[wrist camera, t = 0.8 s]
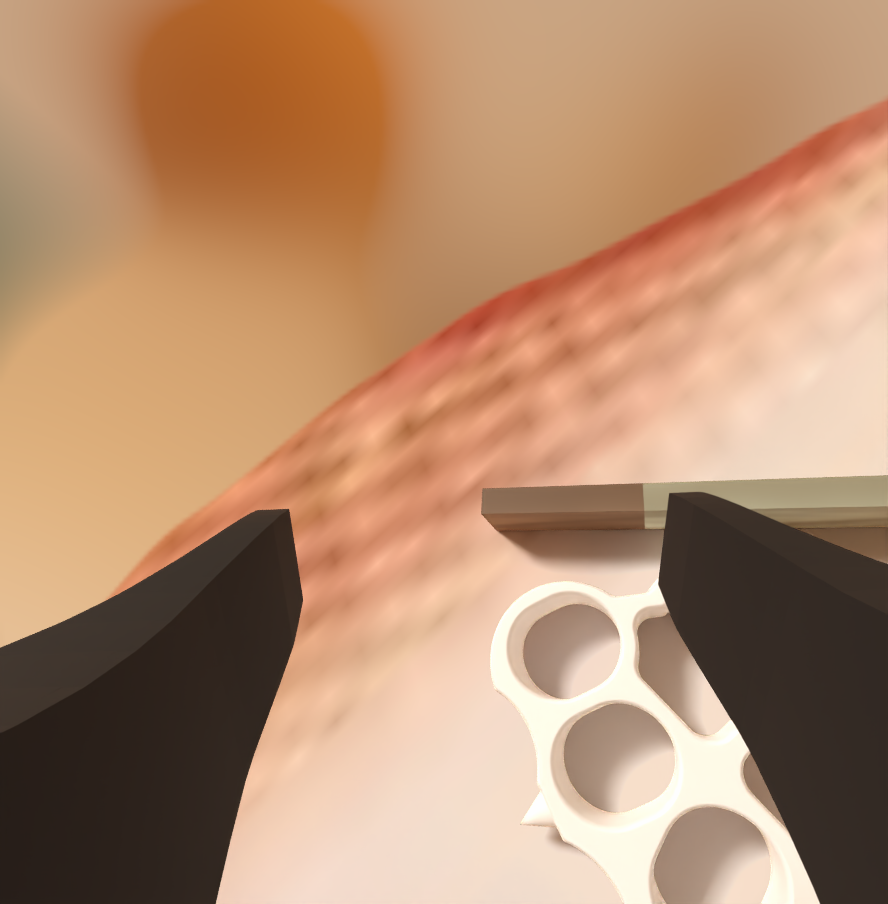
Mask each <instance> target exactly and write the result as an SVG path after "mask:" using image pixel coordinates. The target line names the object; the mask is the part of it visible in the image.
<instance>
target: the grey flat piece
mask: <svg viewBox="0 0 888 904" xmlns="http://www.w3.org/2000/svg"><path fill="white" fill-rule="evenodd" d="M680 492H705V493H708V494H712V495H715V496H718V497H720V498H723V499H726V500H728V501H731V502H733V503H736V504H738V505H741V506H743V507H746V508H748V509H750V510H753V511H755V512H757V513H760V514H762V515H764V516H767V517H769V518H771V519H774V520H776V521H778V522H781V523H783V524H785V525H788V526H790V527H792V528H852V527H888V475H884V476H853V477H823V478H792V479H762V480H731V481H701V482H670V483H640V484H609V485H579V486H548V487H518V488H487V489H482V509H481V514H482V515H483V516H484V517H485V518H486V519H487V521H488V522H489V523H490V524H491V525H492V526H493V527H494V528H495V529H496V530H497V531H502V530H619V529H665V522H666V514H667V506H668V498H669V493H680Z"/></svg>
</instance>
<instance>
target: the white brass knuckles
mask: <svg viewBox="0 0 888 904" xmlns="http://www.w3.org/2000/svg"><path fill="white" fill-rule="evenodd" d="M658 580H659V578H658V579H657V580H656V581H655V583H654V584H653V585H652V586H651V587H650V589H649V590H648V592H647V593H643V594H635V595H627V596H619V597H616V596H613V595H611V594H609V593H607V592H605V591H604V590H602V589H599V588H597V587H594V586H592V585H588V584H585V583H580V582H571V581H561V582H553V583H548V584H544V585H541V586H539V587H536V588H534V589H532V590H530V591H528V592H527V593H525V594H524V595H522V596H521V597H520V598H518V599H517V600H516V601H515V602H514V603H513V604H512V605H511V606H510V607H509V608H508V610H507V611H506V612H505V614H504V615H503V617H502V619H501V620H500V622H499V624H498V626H497V629H496V631H495V634H494V637H493V641H492V646H491V655H490V666H491V675H492V680H493V684H494V688H495V690H496V691H497V692H499V693H500V694H501V695H503V696H504V697H505V698H506V699H508V700H509V701H510V702H511V703H512V704H513V705H514V707H515V708H516V709H517V710H518V711H519V713H520V714H521V716H522V717H523V719H524V721H525V722H526V724H527V726H528V728H529V731H530V733H531V736H532V739H533V742H534V745H535V750H536V755H537V767H538V773H537V784H538V787H539V789H540V793H539V795H538V796H537V798H536V799H535V801H534V803H533V804H532V806H531V807H530V809H529V811H528V812H527V814H526V815H525V817H524V819H523V820H522V822H521V823H520V825H532V826H543V827H555V828H558V831H559V833H560V835H561V837H562V839H563V841H564V842H566V843H568V844H570V845H572V846H574V847H575V848H577V849H579V850H580V851H582V852H583V853H584V854H586V855H587V856H588V857H589V858H591V859H592V860H593V861H594V862H595V863H596V864H597V865H598V866H599V867H600V868H601V869H602V871H603V872H604V873H605V874H606V875H607V877H608V878H609V880H610V881H611V882H612V884H613V885H614V887H615V889H616V890H617V892H618V894H619V896H620V898H621V900H622V902H623V904H666V902H665V901H664V899H663V897H662V895H661V894H660V891H659V889H658V887H657V884H656V881H655V877H654V873H653V870H654V865H655V861H656V858H657V856H658V854H659V851H660V849H661V847H662V845H663V843H664V841H665V838H666V836H667V834H668V832H669V830H670V828H671V827H672V825H673V824H674V823H675V822H676V821H677V820H678V819H679V818H680V817H681V816H682V815H684V814H685V813H687V812H689V811H692V810H694V809H698V808H703V807H716V808H722V809H726V810H729V811H732V812H734V813H737V814H739V815H740V816H742V817H744V818H746V819H747V820H748V821H750V822H751V823H752V824H754V825H755V826H756V827H757V828H758V829H759V830H760V832H761V834H762V836H763V838H764V840H765V842H766V845H767V847H768V851H769V855H770V860H771V878H770V883H769V886H768V889H767V891H766V894H765V896H764V898H763V901H762V903H761V904H820V903H819V900H818V898H817V895H816V893H815V891H814V888H813V886H812V884H811V881H810V879H809V877H808V875H807V872H806V870H805V868H804V866H803V863H802V861H801V859H800V857H799V854H798V852H797V850H796V848H795V846H794V843H793V841H792V839H791V837H790V834H789V832H788V830H787V829H786V828H785V827H784V826H783V825H782V824H781V823H780V822H779V821H778V820H777V819H776V817H775V816H774V815H773V814H772V813H771V812H770V811H769V810H768V809H767V808H766V807H765V806H764V805H763V804H762V803H761V802H760V801H759V800H758V799H757V798H756V797H755V796H754V795H753V793H752V792H751V791H750V790H749V788H748V787H747V785H746V782H745V780H744V775H743V767H744V763H745V760H746V759H747V757H748V756H749V755H750V754H751V753H750V751H749V749H748V747H747V746H746V744H745V742H744V740H743V738H742V737H741V735H740V733H739V731H738V730H737V728H736V726H735V725H734V723H733V722H732V720H730V721H729V722H728V723H727V724H726V725H725V726H724V727H723V728H722V729H721V730H720V731H719V732H717V733H716V734H713V735H707V736H706V735H700V734H697V733H695V732H693V731H692V730H691V729H690V728H689V727H688V726H687V725H686V724H685V723H684V722H683V720H682V719H681V718H680V717H679V716H678V715H677V714H676V713H675V712H674V711H673V710H672V709H671V708H670V707H669V706H668V705H667V704H666V703H665V702H664V701H663V700H662V699H661V698H660V697H659V695H658V694H657V693H656V692H655V691H654V690H653V689H652V688H651V687H650V686H649V685H648V684H647V683H646V682H645V681H644V680H643V679H642V677H641V676H640V674H639V670H638V665H639V657H640V649H639V641H638V636H637V630H638V627H639V625H640V624H641V623H642V622H643V621H644V620H646V619H649V618H656V617H664V616H665V615H666V614H667V613H669V610H668V608H667V606H666V603H665V601H664V598H663V596H662V593H661V591H660V588H659V586H658ZM572 604H584V605H589V606H592V607H594V608H597V609H599V610H600V611H602V612H603V613H605V614H606V615H607V616H608V617H609V618H610V619H611V620H612V621H613V622H614V624H615V625H616V627H617V629H618V632H619V636H620V642H621V651H620V657H619V661H618V664H617V666H616V668H615V670H614V672H613V673H612V674H611V676H610V677H609V678H608V679H607V680H606V681H605V682H604V683H602V684H601V685H599V686H598V687H596V688H594V689H591V690H589V691H587V692H585V693H583V694H581V695H579V696H577V697H574V698H571V699H559V698H555V697H553V696H550V695H548V694H546V693H545V692H543V691H542V690H541V689H539V688H538V687H537V686H536V685H535V683H534V682H533V681H532V680H531V678H530V676H529V674H528V672H527V670H526V667H525V664H524V658H523V647H524V642H525V638H526V636H527V634H528V632H529V630H530V628H531V627H532V626H533V625H534V623H535V622H536V621H538V620H539V619H540V618H542V617H543V616H545V615H547V614H549V613H551V612H553V611H555V610H557V609H559V608H561V607H564V606H567V605H572ZM669 614H670V613H669ZM615 703H620V704H628V705H632V706H635V707H638V708H640V709H642V710H644V711H646V712H647V713H649V714H650V715H652V716H653V717H654V718H655V719H656V720H657V721H658V722H659V723H660V724H661V725H662V726H663V727H664V729H665V730H666V731H667V733H668V734H669V736H670V738H671V741H672V744H673V747H674V752H675V770H674V775H673V778H672V780H671V783H670V784H669V786H668V788H667V789H666V790H665V792H664V793H663V794H662V795H661V796H659V797H658V798H657V799H655V800H653V801H651V802H649V803H647V804H644V805H642V806H640V807H638V808H635V809H633V810H631V811H627V812H622V813H613V812H607V811H603V810H601V809H598V808H596V807H594V806H593V805H591V804H590V803H588V802H587V801H586V800H584V799H583V798H582V797H581V796H580V795H579V793H578V792H577V791H576V790H575V788H574V787H573V785H572V783H571V782H570V779H569V777H568V775H567V772H566V768H565V763H564V746H565V741H566V738H567V735H568V733H569V731H570V729H571V728H572V726H573V725H574V724H575V723H576V722H577V721H578V720H579V719H580V718H581V717H583V716H584V715H586V714H588V713H591V712H593V711H595V710H597V709H599V708H601V707H603V706H606V705H608V704H615Z"/></svg>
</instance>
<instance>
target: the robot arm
mask: <svg viewBox="0 0 888 904" xmlns="http://www.w3.org/2000/svg"><path fill="white" fill-rule="evenodd" d="M658 586H659V588H660V591H661V593H662V596H663V598H664V601H665V603H666V606H667V608H668V610H669V613H670V615H671V617H672V619H673V622H674V624H675V626H676V629H677V630H678V632H679V634H680V636H681V637H682V639H683V641H684V642H685V644H686V646H687V647H688V649H689V651H690V652H691V654H692V656H693V658H694V659H695V661H696V663H697V664H698V666H699V668H700V669H701V671H702V672H703V674H704V676H705V677H706V679H707V681H708V682H709V684H710V686H711V687H712V689H713V690H714V692H715V694H716V695H717V697H718V699H719V700H720V702H721V704H722V705H723V707H724V708H725V710H726V712H727V713H728V715H729V717H730V718H731V720H732V722H733V723H734V725H735V726H736V728H737V730H738V731H739V733H740V735H741V737H742V738H743V740H744V742H745V744H746V746H747V747H748V749H749V751H750V753H751V755H752V756H753V758H754V760H755V762H756V764H757V766H758V768H759V771H760V773H761V775H762V777H763V779H764V781H765V783H766V785H767V787H768V789H769V791H770V794H771V796H772V798H773V800H774V802H775V804H776V806H777V808H778V810H779V812H780V814H781V817H782V819H783V821H784V823H785V825H786V828H787V830H788V832H789V834H790V837H791V839H792V841H793V843H794V846H795V848H796V850H797V852H798V854H799V857H800V859H801V861H802V863H803V866H804V868H805V870H806V872H807V875H808V877H809V879H810V881H811V884H812V886H813V888H814V891H815V893H816V895H817V898H818V900H819V903H820V904H888V564H885V563H882V562H879V561H876V560H874V559H871V558H868V557H866V556H863V555H860V554H858V553H855V552H852V551H850V550H847V549H844V548H842V547H839V546H837V545H834V544H831V543H829V542H826V541H824V540H821V539H819V538H816V537H814V536H811V535H809V534H807V533H804V532H802V531H799V530H797V529H795V528H792V527H790V526H788V525H785V524H783V523H781V522H778V521H776V520H774V519H771V518H769V517H767V516H764V515H762V514H760V513H757V512H755V511H753V510H750V509H748V508H746V507H743V506H741V505H738V504H736V503H733V502H731V501H728V500H726V499H723V498H720V497H718V496H715V495H712V494H708V493H705V492H680V493H669V498H668V506H667V514H666V522H665V531H664V539H663V547H662V556H661V564H660V572H659V580H658ZM302 602H303V596H302V590H301V583H300V577H299V570H298V564H297V557H296V551H295V544H294V538H293V531H292V525H291V518H290V512H289V509H277V510H257V511H255V512H252V513H250V514H249V515H247V516H245V517H243V518H242V519H240V520H238V521H237V522H235V523H233V524H232V525H230V526H229V527H227V528H226V529H224V530H223V531H221V532H220V533H218V534H217V535H215V536H213V537H212V538H210V539H209V540H207V541H206V542H204V543H203V544H201V545H200V546H198V547H196V548H195V549H193V550H192V551H190V552H189V553H187V554H186V555H184V556H183V557H181V558H179V559H178V560H176V561H174V562H173V563H171V564H169V565H168V566H166V567H164V568H163V569H161V570H159V571H158V572H156V573H154V574H153V575H151V576H149V577H148V578H146V579H144V580H142V581H141V582H139V583H137V584H136V585H134V586H132V587H131V588H129V589H127V590H125V591H123V592H121V593H120V594H118V595H116V596H114V597H112V598H110V599H108V600H106V601H104V602H102V603H100V604H98V605H96V606H94V607H92V608H90V609H88V610H86V611H84V612H82V613H80V614H78V615H76V616H74V617H72V618H70V619H67V620H65V621H63V622H61V623H59V624H56V625H54V626H52V627H49V628H47V629H44V630H42V631H40V632H37V633H35V634H32V635H30V636H28V637H25V638H23V639H20V640H18V641H16V642H13V643H11V644H8V645H6V646H4V647H1V648H0V904H216V900H217V895H218V891H219V887H220V882H221V878H222V874H223V870H224V865H225V861H226V857H227V852H228V848H229V844H230V840H231V836H232V832H233V828H234V824H235V820H236V816H237V812H238V808H239V804H240V801H241V797H242V793H243V789H244V785H245V781H246V778H247V775H248V772H249V769H250V765H251V762H252V759H253V756H254V753H255V750H256V748H257V745H258V742H259V739H260V737H261V734H262V731H263V729H264V726H265V723H266V720H267V718H268V715H269V712H270V709H271V707H272V704H273V701H274V699H275V696H276V693H277V690H278V688H279V685H280V682H281V679H282V677H283V674H284V671H285V668H286V665H287V663H288V660H289V657H290V654H291V651H292V648H293V645H294V641H295V636H296V632H297V627H298V623H299V618H300V613H301V608H302Z"/></svg>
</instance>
